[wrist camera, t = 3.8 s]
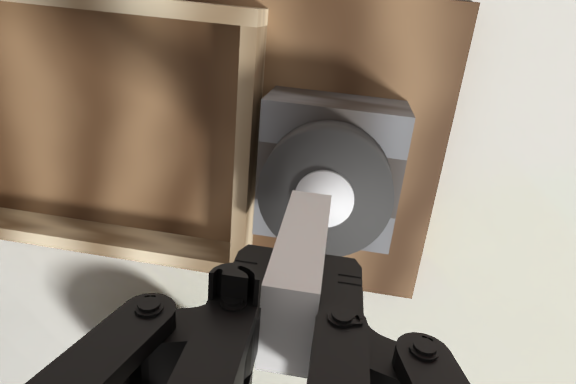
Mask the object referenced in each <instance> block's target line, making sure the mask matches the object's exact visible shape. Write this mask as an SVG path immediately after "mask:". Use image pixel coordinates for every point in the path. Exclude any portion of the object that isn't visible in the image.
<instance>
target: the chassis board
mask: <svg viewBox="0 0 576 384" xmlns="http://www.w3.org/2000/svg"><path fill="white" fill-rule="evenodd" d="M479 6H480V3H478V2H468V1H457V0H0V240H7V241H13V242H19V243H25V244H32V245H38V246H44V247H50V248H57V249H63V250H69V251H75V252H81V253H88V254H94V255H100V256H106V257H113V258H119V259H125V260H131V261H138V262H144V263H150V264H156V265H162V266H169V267H175V268H181V269H187V270H194V271H200V272H206V273H209V272H210V271H211V270H212V269H213V268H214V267H216V266H218V265H220V264H225V263H233V262H234V260H235V257H236V255H237V253H238V251H239V250H241V249H242V248H244V247H245V246H246V245H248V244H250V245H257V246H264V247H271V248H274V245H275V242H276V239H277V237H276V236H275V235H274V234H273V233H272V232H271V230H270V229H269V228H268V226H267V225H266V223H265V221H264V219H263V217H262V215H261V212H260V209H259V205H258V199H257V186H258V180H259V176H260V173H261V170H262V168H263V166H264V164H265V162H266V161H267V159H268V157H269V156H270V154H271V153H272V151H273V149H274V148H275V146H276V145H277V143H278V142H279V141H280V140H281V139H282V138H283V137H284V136H285V135H286V134H287V133H289V132H290V131H292V130H293V129H295V128H297V127H299V126H301V125H303V124H306V123H309V122H313V121H318V120H337V121H342V122H346V123H349V124H352V125H354V126H356V127H358V128H360V129H362V130H363V131H365V132H367V133H368V134H369V135H370V136H371V137H373V138H374V139H375V140H376V142H377V143H378V144H379V145H380V146H381V148H382V149H383V151H384V153H385V155H386V157H387V159H388V162H389V165H390V169H391V175H392V180H393V186H394V207H393V211H392V215H391V217H390V220H389V222H388V224H387V226H386V227H385V229H384V231H383V232H382V233H381V234H380V235H379V237H378V238H377V239H375V240H374V241H373V242H372V243H371V244H369V245H368V246H367V247H365V248H363V249H362V250H360V251H358V252H355V253H353V254H350V255H346V256H342V257H348V258H355V259H356V260H357V262H358V263H359V265H360V266H361V267H362V287H363V291H367V292H373V293H379V294H385V295H392V296H398V297H404V298H411V299H412V295H413V291H414V287H415V282H416V278H417V274H418V269H419V265H420V261H421V256H422V252H423V248H424V243H425V239H426V235H427V230H428V226H429V222H430V217H431V213H432V209H433V205H434V200H435V196H436V192H437V187H438V183H439V179H440V174H441V170H442V166H443V161H444V157H445V153H446V148H447V144H448V140H449V135H450V131H451V127H452V122H453V118H454V114H455V109H456V105H457V101H458V96H459V92H460V88H461V83H462V79H463V75H464V70H465V66H466V62H467V58H468V53H469V49H470V45H471V40H472V36H473V32H474V27H475V23H476V19H477V14H478V10H479Z"/></svg>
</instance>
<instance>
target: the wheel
mask: <svg viewBox="0 0 576 384" xmlns="http://www.w3.org/2000/svg"><path fill="white" fill-rule="evenodd" d="M292 190H295V191H302V192H310V193H318V194H325V195H332V196H331V205H330V214H329V223H328V232H327V241H326V250H325V254H327V255H334V256H341V257H342V256H346V255H350V254H353V253H355V252H358V251H360V250H362V249H363V248H365V247H367V246H368V245H369V244H371V243H372V242H373V241H374V240H375V239H377V238H378V237H379V235H380V234H381V233H382V232H383V231H384V229H385V227H386V226H387V224H388V222H389V220H390V217H391V215H392V211H393V207H394V186H393V180H392V175H391V169H390V165H389V162H388V159H387V157H386V155H385V153H384V151H383V149H382V148H381V146H380V145H379V144H378V143H377V142H376V140H375V139H374V138H373V137H371V136H370V135H369V134H368V133H367V132H365V131H363V130H362V129H360V128H358V127H356V126H354V125H352V124H349V123H346V122H342V121H337V120H318V121H313V122H309V123H306V124H303V125H301V126H299V127H297V128H295V129H293V130H292V131H290V132H289V133H287V134H286V135H285V136H284V137H283V138H282V139H281V140H280V141H279V142H278V143H277V145H276V146H275V148H274V149H273V151H272V153H271V154H270V156H269V157H268V159H267V161H266V162H265V164H264V166H263V168H262V170H261V173H260V176H259V180H258V186H257V199H258V205H259V209H260V212H261V215H262V217H263V219H264V221H265V223H266V225H267V226H268V228H269V229H270V230H271V232H272V233H273V234H274V235H275V236H276V237H277V236H278V233H279V230H280V227H281V224H282V221H283V218H284V215H285V212H286V209H287V206H288V203H289V200H290V197H291V194H292Z"/></svg>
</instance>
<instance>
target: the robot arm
mask: <svg viewBox="0 0 576 384" xmlns="http://www.w3.org/2000/svg"><path fill="white" fill-rule="evenodd" d="M331 196H332V195H325V194H318V193H310V192H302V191H295V190H292V194H291V197H290V200H289V203H288V206H287V209H286V212H285V215H284V218H283V221H282V224H281V227H280V230H279V233H278V236H277V239H276V242H275V245H274V248H271V247H264V246H257V245H250V244H248V245H246V246H245V247H244V248H242V249H241V250H239V251H238V253H237V255H236V257H235V260H234V262H233V263H225V264H220V265H218V266H216V267H214V268H213V269H212V270H211V271H210V272H209V286H208V301H207V303H206V304H205V305H202V306H199V307H193V308H181V309H176V304H175V302H174V301H173V300H172V298H170V297H168V296H166V295H163V294H157V293H149V294H142V295H139V296H135V297H134V298H132V299H130V300H128V301H127V302H126V303H124V304H123V305H122V306H121V307H119V308H118V309H117V310H116V311H114V312H113V313H112V314H111V315H109V316H108V317H107V318H106V319H104V320H103V321H102V322H101V323H100V324H98V325H97V326H96V327H95V328H93V329H92V330H91V331H90V332H88V333H87V334H86V335H85V336H83V337H82V338H81V339H80V340H78V341H77V342H76V343H75V344H73V345H72V346H71V347H70V348H68V349H67V350H66V351H65V352H64V353H62V354H61V355H60V356H59V357H57V358H56V359H55V360H54V361H52V362H51V363H50V364H49V365H47V366H46V367H45V368H44V369H42V370H41V371H40V372H39V373H37V374H36V375H35V376H34V377H33V378H31V379H30V380H29V381H28V382H26V383H25V384H252V371H253V366H254V363H255V370H261V371H267V372H273V373H279V374H285V375H291V376H297V377H302V378H308V379H307V384H470V383H469V381H468V379H467V378H466V376H465V374H464V373H463V371H462V369H461V368H460V366H459V364H458V363H457V361H456V360H455V358H454V356H453V355H452V353H451V351H450V350H449V349H448V348H447V347H446V345H445V344H444V343H442V342H441V341H439V340H438V339H436V338H435V337H432V336H429V335H427V334H423V333H416V332H412V333H406V334H404V335H402V336H400V337H399V338H398V340H397V342H396V341H394V340H391V339H389V338H386V337H384V336H382V335H380V334H378V333H377V332H375V331H374V330H372V329H371V328H370V327H369V326H368V323H367V320H366V317H365V316H364V313H363V287H362V267H361V266H360V265H359V263H358V262H357V260H356V259H355V258H348V257H341V256H334V255H327V254H325V250H326V241H327V232H328V223H329V214H330V205H331Z"/></svg>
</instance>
